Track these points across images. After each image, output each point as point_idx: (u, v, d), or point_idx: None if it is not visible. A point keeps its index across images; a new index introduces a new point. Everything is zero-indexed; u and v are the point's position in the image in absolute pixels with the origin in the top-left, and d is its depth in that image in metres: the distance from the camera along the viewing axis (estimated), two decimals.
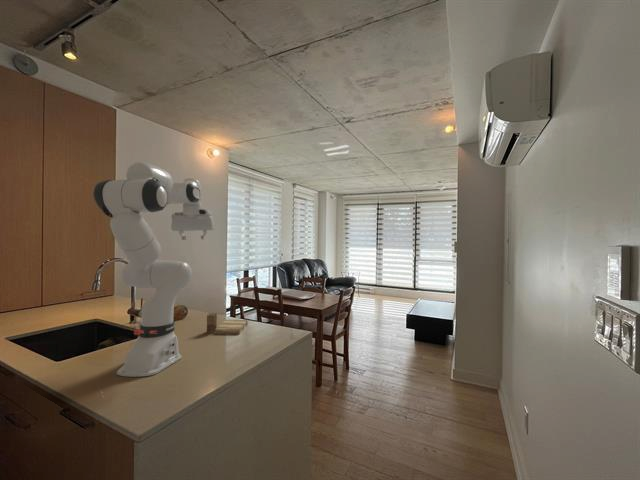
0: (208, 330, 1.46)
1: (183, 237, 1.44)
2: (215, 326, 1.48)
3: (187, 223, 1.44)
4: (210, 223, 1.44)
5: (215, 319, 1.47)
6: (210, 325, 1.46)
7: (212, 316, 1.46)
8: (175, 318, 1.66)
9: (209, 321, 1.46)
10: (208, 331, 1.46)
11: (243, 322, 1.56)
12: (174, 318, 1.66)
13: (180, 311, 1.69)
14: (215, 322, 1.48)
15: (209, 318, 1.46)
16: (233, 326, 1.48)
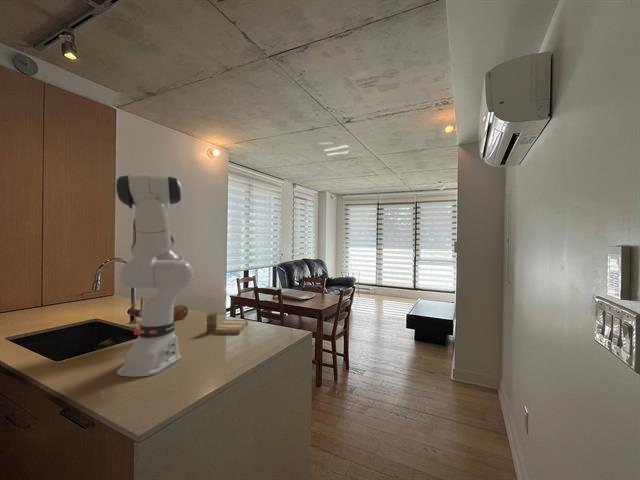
0: (208, 330, 1.46)
1: None
2: (215, 326, 1.48)
3: None
4: None
5: (215, 319, 1.47)
6: (210, 325, 1.46)
7: (212, 316, 1.46)
8: (175, 318, 1.66)
9: (209, 321, 1.46)
10: (208, 331, 1.46)
11: (243, 322, 1.56)
12: (174, 318, 1.66)
13: (180, 311, 1.69)
14: (215, 322, 1.48)
15: (209, 318, 1.46)
16: (233, 326, 1.48)
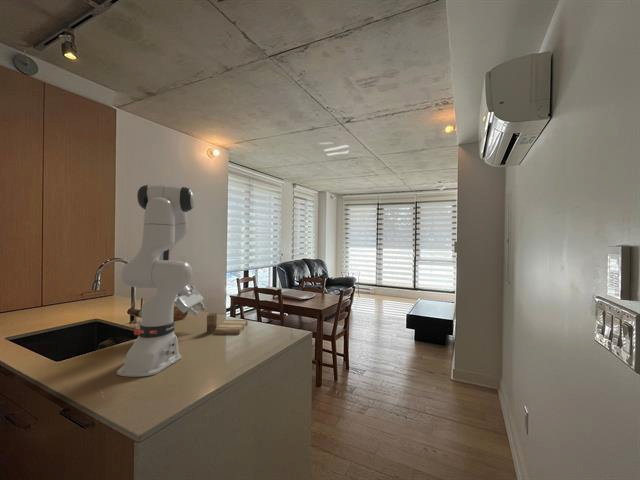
0: (208, 330, 1.46)
1: None
2: (215, 326, 1.48)
3: (190, 299, 1.46)
4: (200, 294, 1.57)
5: (215, 319, 1.47)
6: (210, 325, 1.46)
7: (212, 316, 1.46)
8: (175, 318, 1.66)
9: (209, 321, 1.46)
10: (208, 331, 1.46)
11: (243, 322, 1.56)
12: (174, 318, 1.66)
13: (180, 311, 1.69)
14: (215, 322, 1.48)
15: (209, 318, 1.46)
16: (233, 326, 1.48)
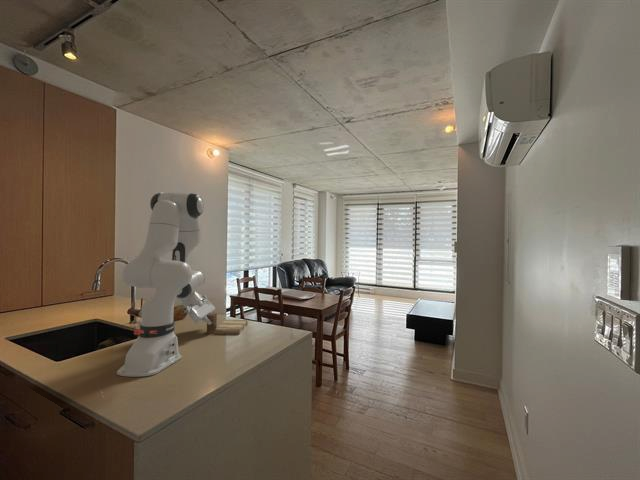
0: (208, 330, 1.46)
1: None
2: (215, 326, 1.48)
3: (202, 309, 1.46)
4: (212, 304, 1.57)
5: (215, 319, 1.47)
6: (210, 325, 1.46)
7: (212, 316, 1.46)
8: (175, 318, 1.66)
9: None
10: (208, 331, 1.46)
11: (243, 322, 1.56)
12: (174, 318, 1.66)
13: (180, 311, 1.69)
14: (215, 322, 1.48)
15: (209, 318, 1.46)
16: (233, 326, 1.48)
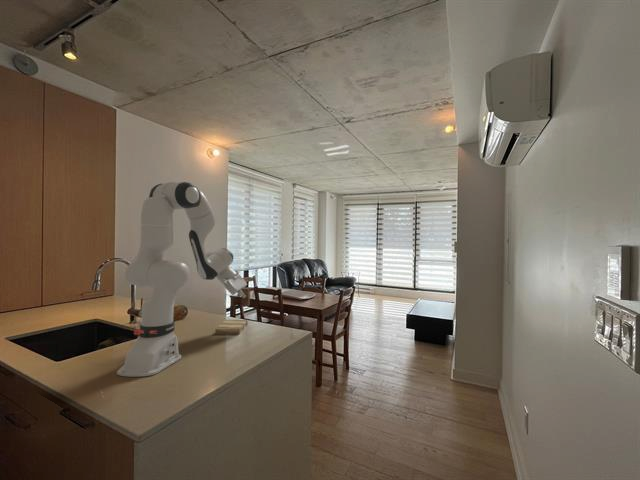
0: (242, 303, 1.51)
1: (245, 294, 1.50)
2: (249, 299, 1.53)
3: (237, 283, 1.51)
4: (244, 280, 1.62)
5: (248, 293, 1.52)
6: (244, 298, 1.51)
7: (246, 289, 1.51)
8: (175, 318, 1.66)
9: None
10: (242, 304, 1.51)
11: (243, 322, 1.56)
12: (174, 318, 1.66)
13: (180, 311, 1.69)
14: (249, 296, 1.53)
15: (244, 291, 1.51)
16: (233, 326, 1.48)
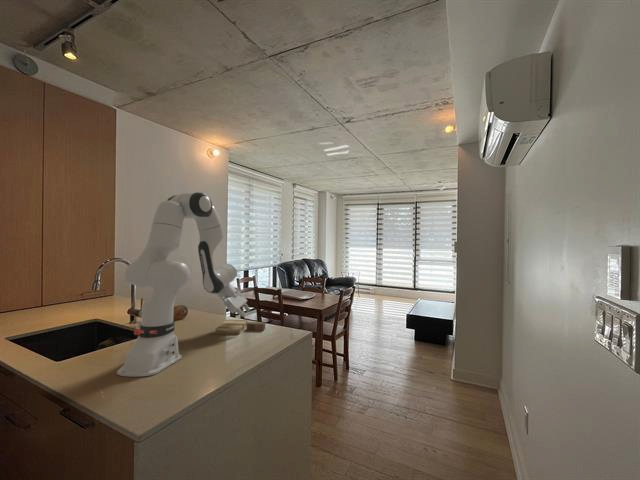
0: (248, 325, 1.51)
1: None
2: None
3: (237, 300, 1.51)
4: None
5: None
6: (253, 327, 1.51)
7: (262, 329, 1.50)
8: (175, 318, 1.66)
9: (257, 326, 1.51)
10: (248, 325, 1.51)
11: (243, 322, 1.56)
12: (174, 318, 1.66)
13: (180, 311, 1.69)
14: None
15: (260, 327, 1.50)
16: (233, 326, 1.48)
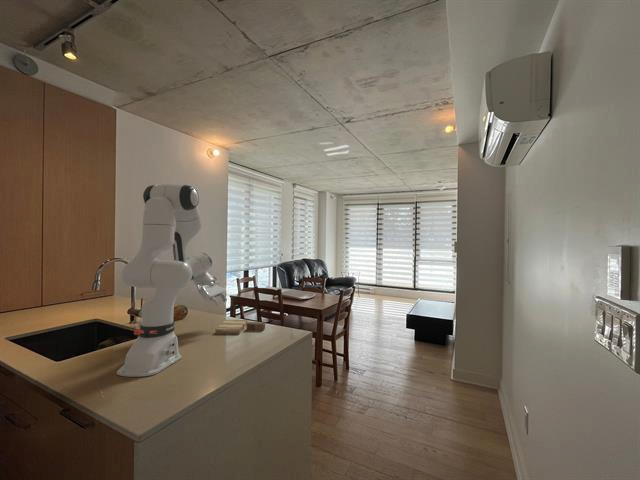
0: (248, 325, 1.51)
1: (218, 301, 1.48)
2: None
3: (213, 289, 1.51)
4: (222, 286, 1.62)
5: None
6: (253, 327, 1.51)
7: (262, 329, 1.51)
8: (175, 318, 1.66)
9: (257, 326, 1.51)
10: (247, 325, 1.51)
11: (243, 322, 1.56)
12: (174, 318, 1.66)
13: (180, 311, 1.69)
14: None
15: (260, 327, 1.51)
16: (233, 326, 1.48)
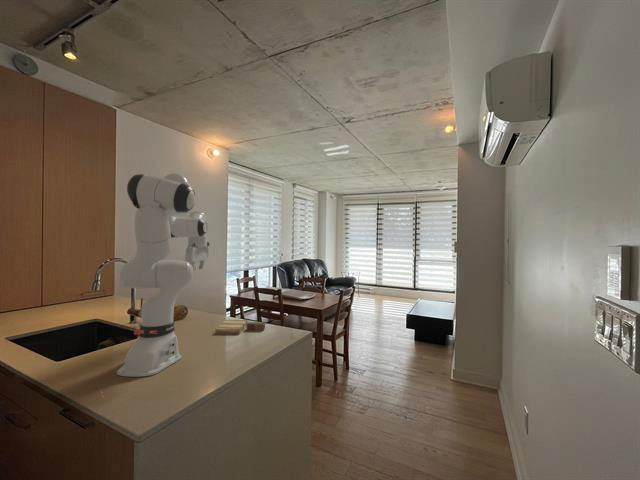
0: (248, 325, 1.51)
1: (195, 268, 1.46)
2: None
3: (199, 254, 1.49)
4: (208, 254, 1.60)
5: None
6: (253, 327, 1.51)
7: (262, 329, 1.51)
8: (175, 318, 1.66)
9: (257, 326, 1.51)
10: (247, 325, 1.51)
11: (243, 322, 1.56)
12: (174, 318, 1.66)
13: (180, 311, 1.69)
14: None
15: (260, 327, 1.51)
16: (233, 326, 1.48)
